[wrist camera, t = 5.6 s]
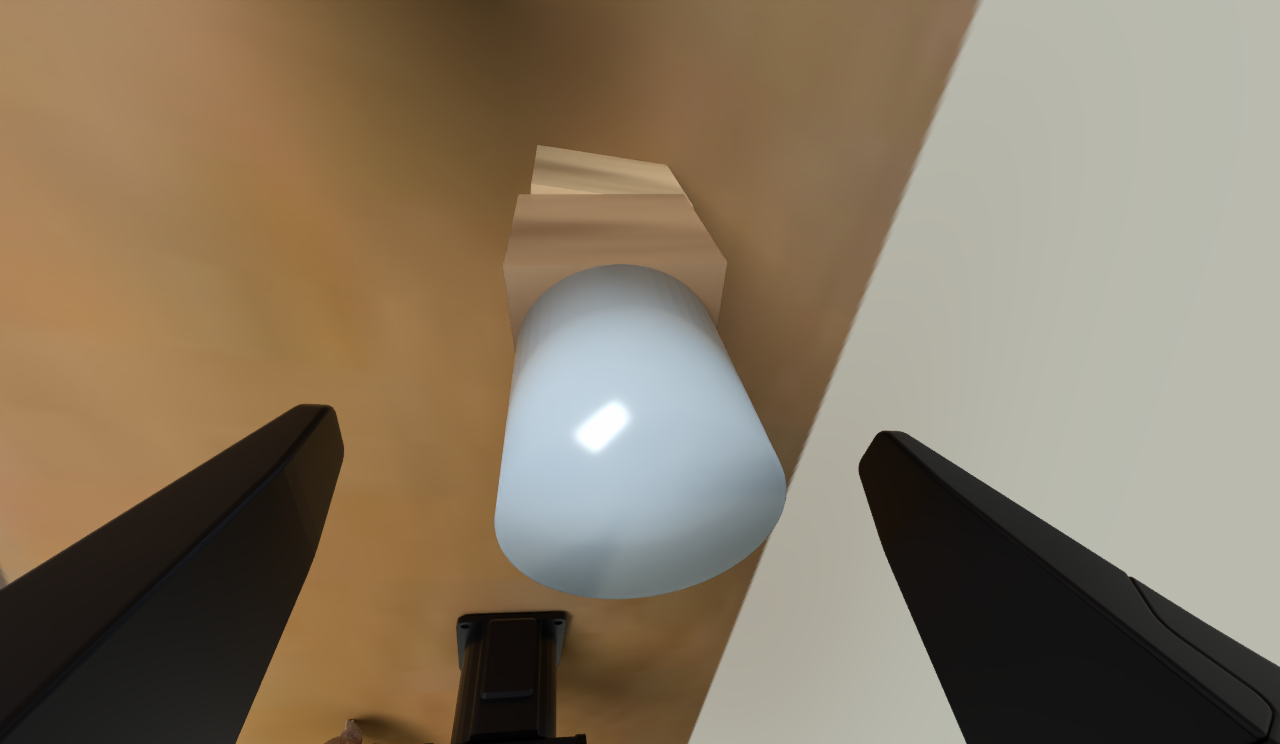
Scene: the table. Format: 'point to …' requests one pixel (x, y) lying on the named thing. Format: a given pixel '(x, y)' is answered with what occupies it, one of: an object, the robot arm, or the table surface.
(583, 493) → the pale blue rounded blob
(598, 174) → the tower base
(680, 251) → the tower top
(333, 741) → the brown wrinkled rounded piece
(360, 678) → the table surface
